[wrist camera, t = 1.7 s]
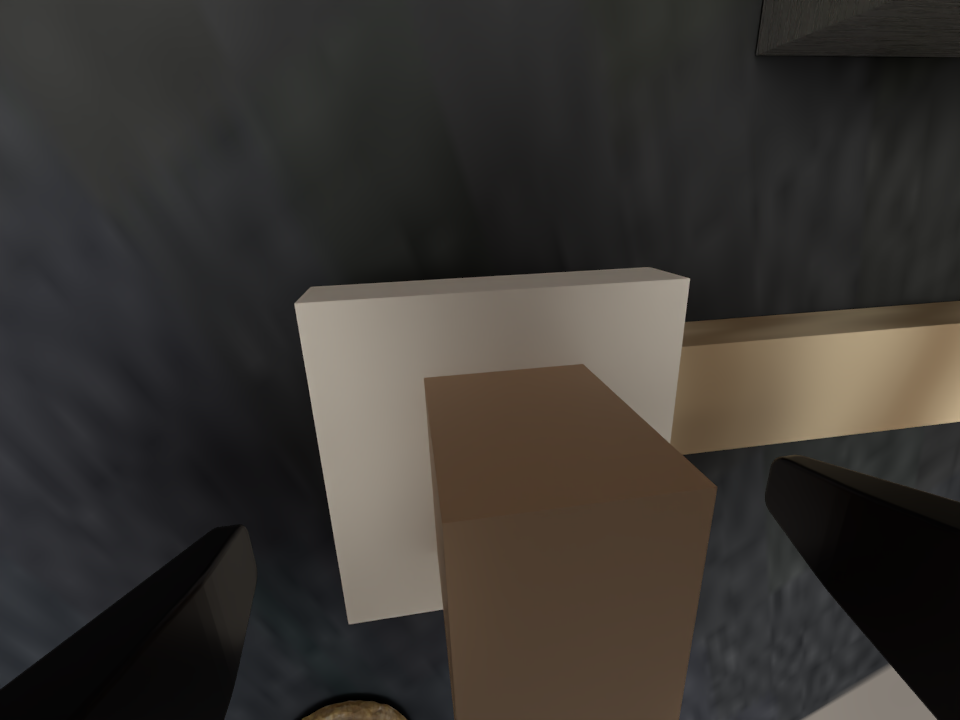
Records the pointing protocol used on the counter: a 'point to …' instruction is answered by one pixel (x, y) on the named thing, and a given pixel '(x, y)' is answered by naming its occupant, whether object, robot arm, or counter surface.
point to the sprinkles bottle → (356, 712)
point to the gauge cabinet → (860, 28)
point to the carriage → (517, 481)
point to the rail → (816, 375)
